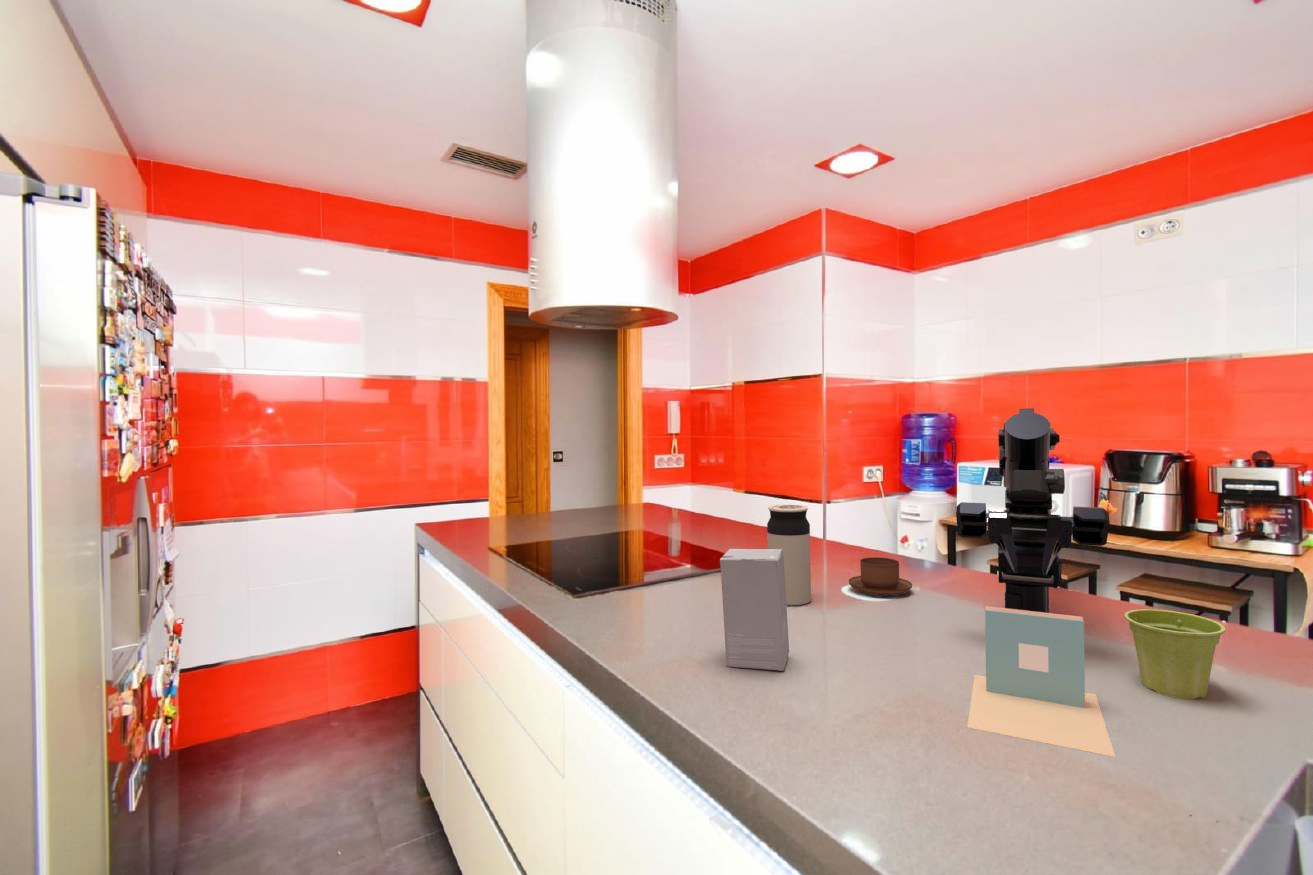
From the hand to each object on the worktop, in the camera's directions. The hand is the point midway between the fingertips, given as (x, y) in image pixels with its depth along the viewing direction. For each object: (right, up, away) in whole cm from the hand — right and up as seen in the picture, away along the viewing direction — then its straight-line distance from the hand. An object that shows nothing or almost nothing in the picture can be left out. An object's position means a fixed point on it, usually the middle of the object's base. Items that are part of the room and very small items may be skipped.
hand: (1030, 572), depth 85 cm
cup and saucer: (-7, -13, +39) cm, 41 cm away
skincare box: (-37, -14, +3) cm, 40 cm away
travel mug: (-26, -13, +33) cm, 44 cm away
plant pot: (+12, -13, -9) cm, 20 cm away
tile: (-6, -13, -11) cm, 18 cm away
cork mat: (-8, -13, -14) cm, 21 cm away
